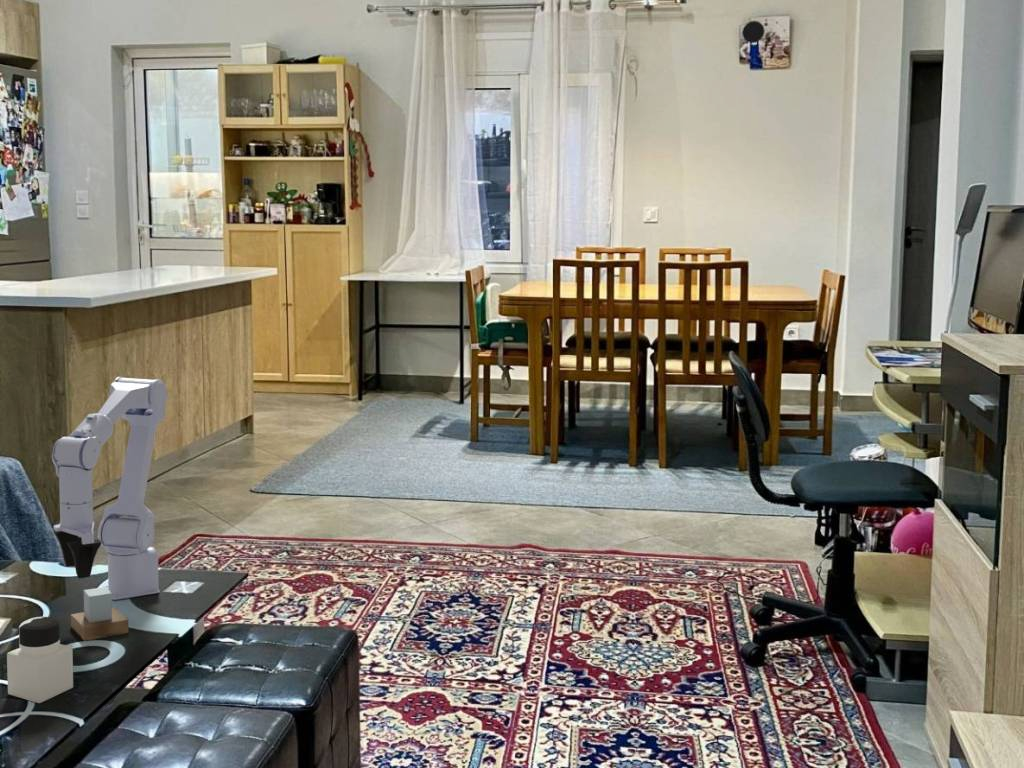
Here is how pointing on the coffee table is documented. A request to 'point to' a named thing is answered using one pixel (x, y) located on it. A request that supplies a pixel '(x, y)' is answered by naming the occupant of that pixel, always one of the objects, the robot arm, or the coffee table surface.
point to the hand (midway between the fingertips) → (77, 571)
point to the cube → (97, 604)
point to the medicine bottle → (39, 662)
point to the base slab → (99, 626)
